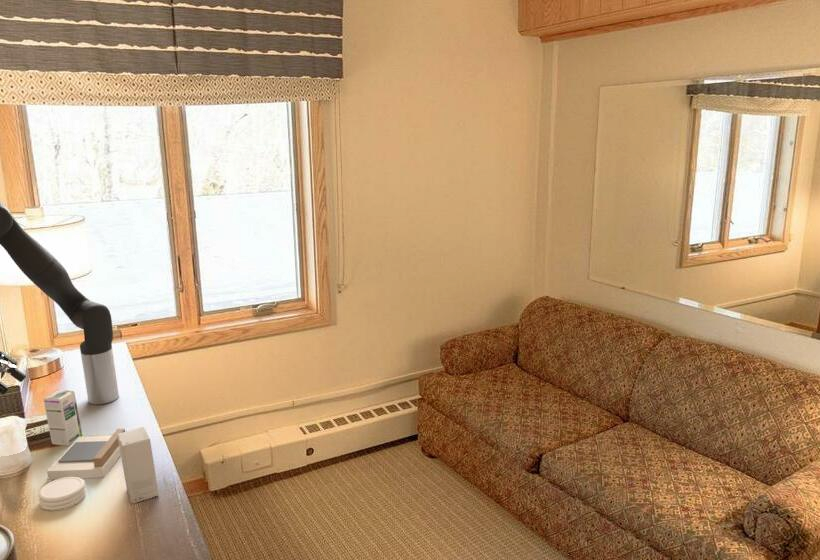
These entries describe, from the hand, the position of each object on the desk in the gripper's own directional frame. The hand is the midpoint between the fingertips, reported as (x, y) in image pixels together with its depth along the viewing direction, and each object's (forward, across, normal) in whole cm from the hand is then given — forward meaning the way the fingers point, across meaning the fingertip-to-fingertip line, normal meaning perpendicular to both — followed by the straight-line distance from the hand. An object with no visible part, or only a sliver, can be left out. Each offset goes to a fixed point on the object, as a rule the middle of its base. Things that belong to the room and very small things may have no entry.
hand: (15, 385), depth 178 cm
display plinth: (+29, -12, -4) cm, 32 cm away
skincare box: (+43, -29, -18) cm, 55 cm away
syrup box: (+21, 0, +4) cm, 21 cm away
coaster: (+30, -30, -5) cm, 43 cm away
